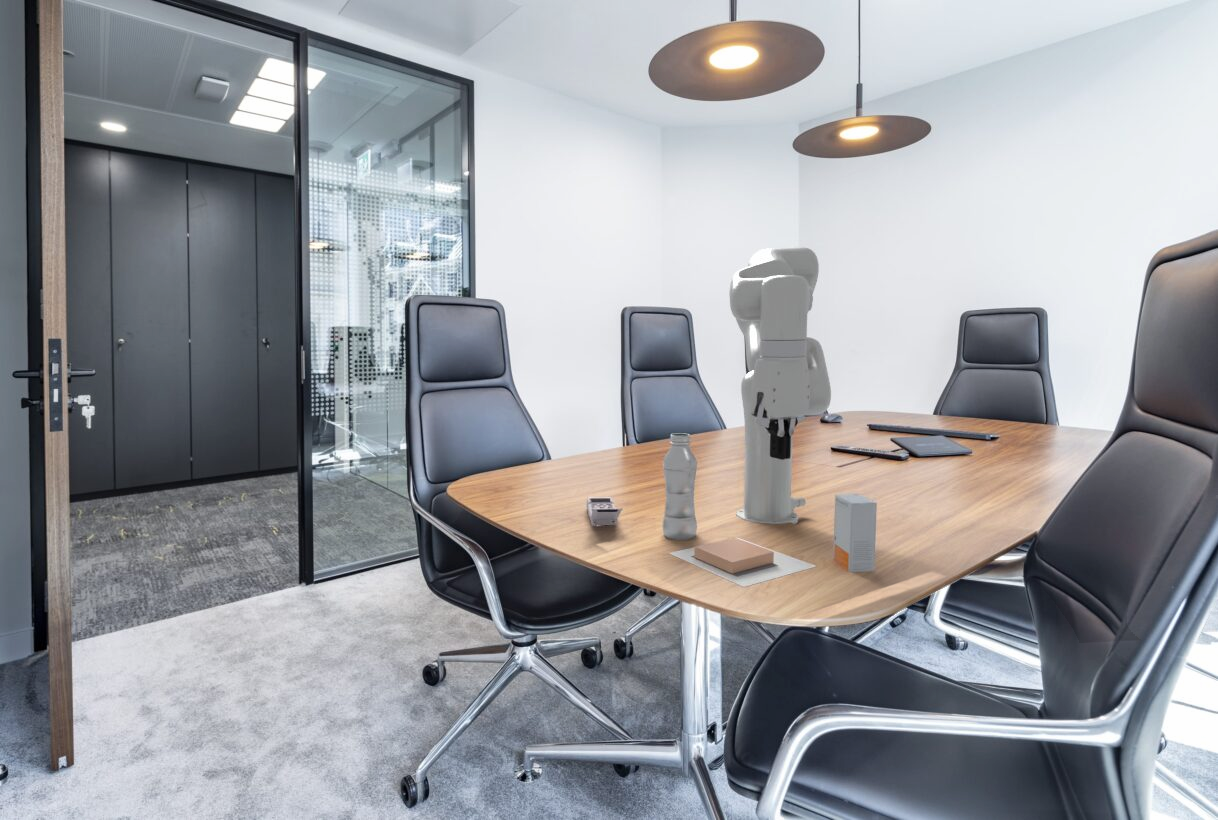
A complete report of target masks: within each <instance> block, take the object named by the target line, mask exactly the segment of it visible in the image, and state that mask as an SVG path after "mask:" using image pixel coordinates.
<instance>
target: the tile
mask: <svg viewBox="0 0 1218 820" xmlns="http://www.w3.org/2000/svg"><path fill="white" fill-rule="evenodd" d="M737 538H738V537H732V538H727V539H722V540H719V541H714V542H709V543H706V544H701V545H700V544H699V545H696V546H695V545H694V557H695V558H697V559H700V560H702V561H704V562H707V563H709V564H711V565H714V566H716V567H718V568H720V569H723V570H725V571H727V572H730V573H732V574H733V573H736V572H740V571H744V570H748V569H752V568H755V567H759V566H763V565H767V564H771V563H774V552H773V551H770V550H767V549H764V548H762V547H763V546H762V547H759V546H756V545H753V544H751V543H752V542H751V543H748V542H745V541H742V540H740V539H741V538H740V539H737Z"/></svg>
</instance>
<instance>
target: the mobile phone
mask: <svg viewBox="0 0 1218 820" xmlns="http://www.w3.org/2000/svg"><path fill="white" fill-rule="evenodd" d="M622 511H623V507H621V508H617V507H616V505H615V503H614V501H613V498H612V497H611V496H604V497H603V496H598V497H595V496H594V497H593V496H592V497H591V496H589V497H587V499H586V512H588V517H589V521H590V524H591V526H592V527H598V526H597V525H603V526H602V527H605V526H604V525H616V526H617V525H618V522H619V521H618V520H619V516H620V514H621V512H622Z"/></svg>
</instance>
